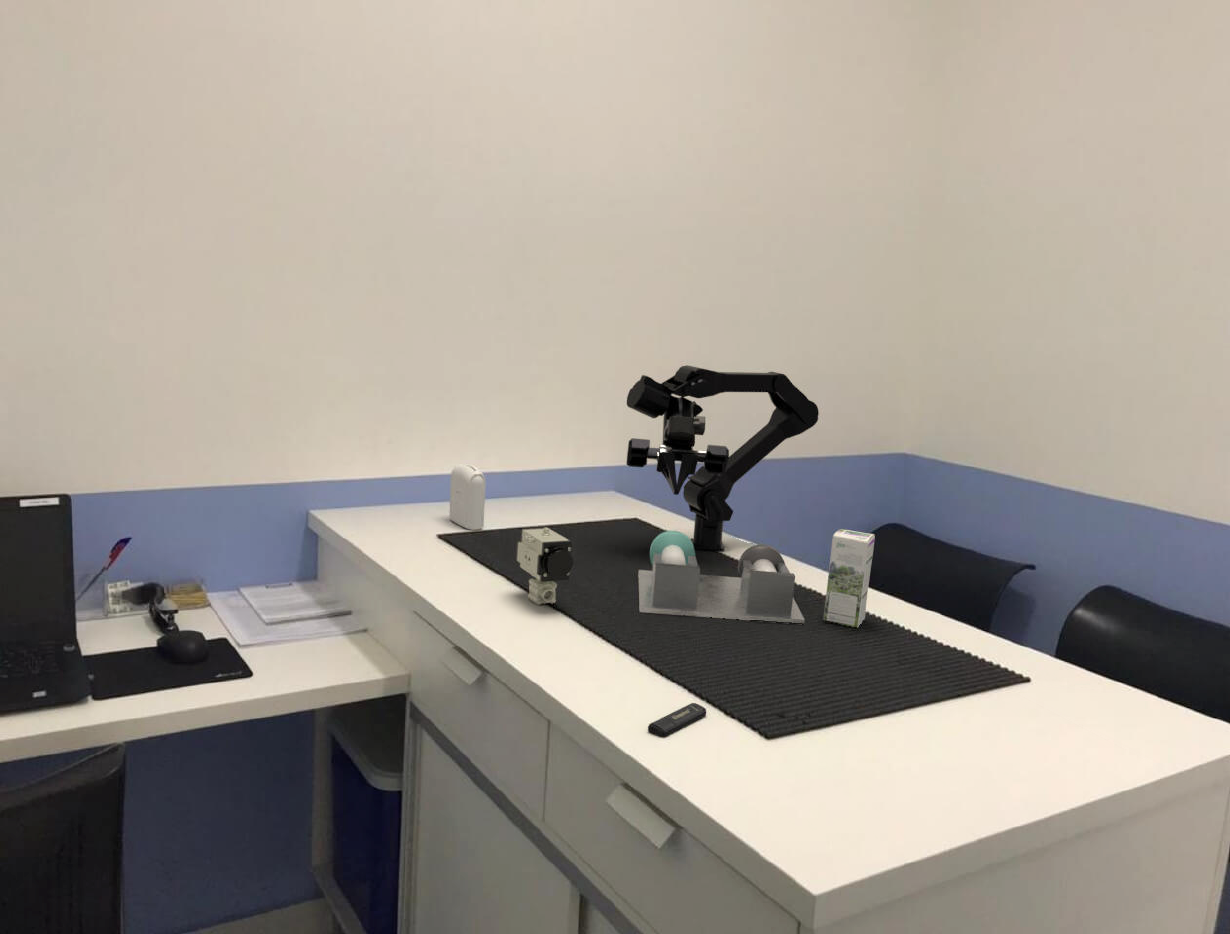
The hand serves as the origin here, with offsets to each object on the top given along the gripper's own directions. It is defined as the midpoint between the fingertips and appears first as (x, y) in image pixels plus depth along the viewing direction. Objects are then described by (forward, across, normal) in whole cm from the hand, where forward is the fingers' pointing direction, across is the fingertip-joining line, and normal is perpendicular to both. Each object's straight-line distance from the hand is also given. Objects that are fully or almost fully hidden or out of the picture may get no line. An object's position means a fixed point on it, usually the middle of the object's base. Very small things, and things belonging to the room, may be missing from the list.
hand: (676, 493), depth 189 cm
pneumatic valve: (+29, -22, -9) cm, 38 cm away
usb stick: (+60, -3, -39) cm, 71 cm away
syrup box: (+28, +27, -9) cm, 40 cm away
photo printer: (-4, -40, +25) cm, 48 cm away
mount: (+23, +7, -3) cm, 24 cm away
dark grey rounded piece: (+23, +14, -6) cm, 28 cm away
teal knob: (+20, -1, -2) cm, 20 cm away
